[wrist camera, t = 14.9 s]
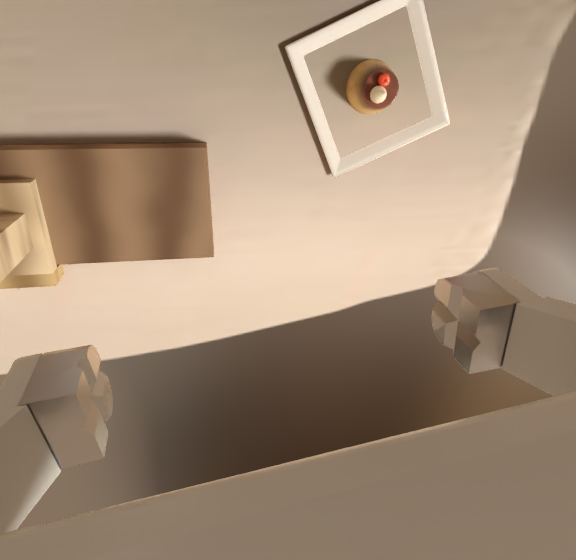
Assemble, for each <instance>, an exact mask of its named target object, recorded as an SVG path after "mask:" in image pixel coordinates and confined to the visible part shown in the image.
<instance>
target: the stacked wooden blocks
mask: <svg viewBox="0 0 576 560" xmlns="http://www.w3.org/2000/svg"><path fill="white" fill-rule="evenodd" d="M63 275H64V271H63V267H62V264H58V265H56V261H55V257H54V253H53V249H52V244H51V240H50V236H49V232H48V228H47V224H46V220H45V216H44V212H43V208H42V204H41V200H40V196H39V192H38V188H37V184H36V179H15V180H0V289H6V288H25V287H44V286H56V285H57V284H58V282H59V281H60V279H61V278H62V276H63Z"/></svg>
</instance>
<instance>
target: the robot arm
mask: <svg viewBox="0 0 576 560" xmlns="http://www.w3.org/2000/svg"><path fill="white" fill-rule="evenodd" d="M434 295H435V296H436V297H437V299H438V300H439V302H438V303H437V304H436V305H435V307H434V308H433V310H432V324H433V329H434V332H435V334H436V336H437V338H438V339H439V340H440V342H441V343H442V344H443V345H445V346H447V347H450V348H452V349H454V353H453V357H454V358H455V359H456V360H457V361H458V362H459V363H460V364H461V366H462V367H463V368H464V369H465V370H466V371H467V372H468V373H469V374H471V373H476V372H481V371H486V370H491V369H496V368H501V367H502V369H503V370H505V371H506V372H509V373H510V374H512V375H514V376H516V377H518V378H520V379H522V380H524V381H526V382H528V383H530V384H532V385H534V386H535V387H537V388H539V389H541V390H543V391H545V392H547V393H549V394H551V395H553V396H554V397H551V398H547V399H543V400H539V401H535V402H531V403H527V404H522V405H519V406H514V407H511V408H506V409H502V410H498V411H494V412H490V413H486V414H482V415H478V416H474V417H470V418H466V419H461V420H457V421H454V422H450V423H446V424H441V425H438V426H433V427H429V428H425V429H421V430H417V431H413V432H409V433H405V434H401V435H396V436H392V437H389V438H384V439H380V440H376V441H372V442H368V443H364V444H360V445H356V446H353V447H349V448H344V449H340V450H336V451H332V452H328V453H324V454H321V455H317V456H312V457H309V458H304V459H301V460H296V461H292V462H288V463H284V464H280V465H276V466H272V467H268V468H264V469H260V470H257V471H252V472H248V473H245V474H240V475H236V476H232V477H228V478H224V479H220V480H216V481H212V482H208V483H204V484H200V485H196V486H192V487H188V488H184V489H179V490H175V491H171V492H168V493H163V494H159V495H155V496H151V497H147V498H143V499H139V500H135V501H131V502H127V503H123V504H119V505H115V506H111V507H107V508H103V509H99V510H95V511H91V512H87V513H83V514H79V515H75V516H71V517H67V518H63V519H59V520H54V521H51V522H46V523H43V524H38V525H34V526H30V527H27V528H23V529H18V530H16V529H17V528H18V527H19V525H20V524H21V523H22V522H23V520H24V519H25V518H26V516H27V515H28V513H29V512H30V511H31V510H32V509H33V507H34V506H35V505H36V503H37V502H38V501H39V500H40V498H41V497H42V496H43V494H44V493H45V492H46V490H47V489H48V488H49V487H50V485H51V484H52V483H53V481H54V480H55V479H56V477H57V476H58V475H59V474H60V472H61V470H60V469H63V468H67V467H71V466H75V465H79V464H82V463H87V462H91V461H94V460H98V459H102V458H104V455H105V449H106V443H107V438H108V431H107V428H106V426H105V423H106V422H107V421H108V420H109V418H110V417H111V414H112V392H111V387H110V383H109V381H108V378H107V375H106V374H104V373H102V372H100V371H99V366H100V361H101V359H100V357H99V354H98V352H97V350H96V348H95V347H94V346H93V345H88V346H83V347H77V348H71V349H65V350H59V351H53V352H47V353H44V354H36V355H31V356H26V357H21V358H18V359H16V360H15V361H14V362H13V364H12V366H11V368H10V370H9V372H8V374H7V376H6V378H5V380H4V383H3V384H2V386H1V388H0V560H576V305H575V304H572V303H568V302H564V301H561V300H557V299H553V298H549V297H546V298H541V297H540V296H538V295H537V294H535V293H534V292H533V291H531V290H530V289H528V288H527V287H525V286H524V285H523V284H521V283H520V282H518V281H517V280H516V279H514V278H513V277H511V276H510V275H508V274H507V273H505V272H504V271H503V270H501V269H500V268H495V267H493V268H488V269H484V270H480V271H476V272H473V273H467V274H463V275H458V276H453V277H448V278H443V279H439V280H438V281H437V283H436V285H435V291H434Z"/></svg>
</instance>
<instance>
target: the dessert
mask: <svg viewBox="0 0 576 560" xmlns="http://www.w3.org/2000/svg"><path fill="white" fill-rule="evenodd" d="M404 6H406V7H407V10H408V14H409V18H410V23H411V27H412V31H413V36H414V40H415V44H416V49H417V53H418V57H419V62H420V66H421V70H422V74H423V79H424V83H425V87H426V92H427V96H428V100H429V105H430V109H431V113H432V115H431V117H429V118H427V119H425V120H422V121H420V122H418V123H416V124H414V125H412V126H409V127H407V128H405V129H403V130H401V131H398V132H396V133H394V134H392V135H390V136H388V137H385V138H383V139H381V140H379V141H377V142H375V143H372V144H370V145H368V146H366V147H364V148H361V149H359V150H357V151H355V152H353V153H351V154H348V155H346V156H344V157H340V156H339V154H338V151H337V148H336V145H335V143H334V140H333V137H332V134H331V132H330V129H329V126H328V123H327V121H326V118H325V115H324V112H323V110H322V107H321V104H320V101H319V98H318V96H317V93H316V90H315V87H314V85H313V82H312V79H311V76H310V74H309V71H308V68H307V65H306V62H305V60H304V56H305V55H306V54H308V53H310V52H312V51H314V50H316V49H318V48H320V47H322V46H324V45H326V44H328V43H330V42H332V41H334V40H336V39H339V38H341V37H343V36H345V35H347V34H349V33H351V32H353V31H355V30H357V29H359V28H361V27H363V26H365V25H367V24H369V23H371V22H373V21H375V20H377V19H379V18H381V17H383V16H386V15H388V14H390V13H392V12H394V11H396V10H398V9H400V8H402V7H404ZM285 50H286V52H287V55H288V58H289V61H290V63H291V66H292V69H293V71H294V74H295V77H296V79H297V82H298V85H299V87H300V90H301V93H302V95H303V98H304V101H305V103H306V106H307V109H308V111H309V114H310V117H311V119H312V122H313V125H314V127H315V130H316V133H317V135H318V138H319V141H320V144H321V146H322V149H323V152H324V154H325V157H326V160H327V162H328V165H329V168H330V170H331V173H332V176H333V177H334V178H336V177H338V176H340V175H342V174H344V173H346V172H348V171H351V170H353V169H355V168H357V167H359V166H361V165H363V164H366V163H368V162H370V161H372V160H374V159H376V158H379V157H381V156H383V155H385V154H387V153H389V152H391V151H394V150H396V149H398V148H400V147H402V146H404V145H406V144H409V143H411V142H413V141H415V140H417V139H419V138H421V137H424V136H426V135H428V134H430V133H432V132H434V131H436V130H439V129H441V128H443V127H445V126H447V125H449V124H450V120H449V115H448V111H447V106H446V101H445V97H444V92H443V88H442V83H441V79H440V74H439V70H438V65H437V60H436V56H435V51H434V47H433V42H432V38H431V33H430V29H429V24H428V19H427V15H426V10H425V6H424V1H423V0H379V1H377V2H375V3H373V4H371V5H369V6H367V7H365V8H362V9H360V10H358V11H356V12H354V13H352V14H350V15H348V16H346V17H344V18H342V19H340V20H338V21H336V22H334V23H331V24H329V25H327V26H325V27H323V28H321V29H319V30H317V31H315V32H313V33H311V34H309V35H307V36H305V37H303V38H301V39H298V40H296V41H294V42H292V43H290V44H288V45H286V46H285ZM398 89H399V85H398V80H397V78H396V76H395V74H394V73H393V71H392V70H391V68H390V67H389V66H388V65H387V64H386V63H385V62H383V61H381V60H377V59H369V60H365V61H363V62H361V63H359V64H358V65H357V66H356V67H355V68H354V69H353V70H352V72H351V73H350V75H349V78H348V80H347V85H346V94H347V98H348V101H349V103H350V105H351V106H352V107H353V108H354V109H355V110H356V111H358V112H359V113H362V114H375V113H377V112H379V111H381V110H383V109H384V108H386V107H387V106H389V105H390V104H391V103H392V102H393V101H394V100H395V98H396V96H397V94H398Z"/></svg>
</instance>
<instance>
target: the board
mask: <svg viewBox="0 0 576 560" xmlns="http://www.w3.org/2000/svg"><path fill="white" fill-rule="evenodd" d="M15 179H36V184H37V188H38V192H39V196H40V200H41V204H42V208H43V212H44V216H45V220H46V224H47V228H48V232H49V236H50V240H51V244H52V249H53V253H54V257H55V261H56V265H58V264H79V263H100V262H120V261H141V260H162V259H183V258H203V257H214V246H213V231H212V217H211V202H210V187H209V172H208V157H207V143H119V144H25V145H0V180H15Z"/></svg>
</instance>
